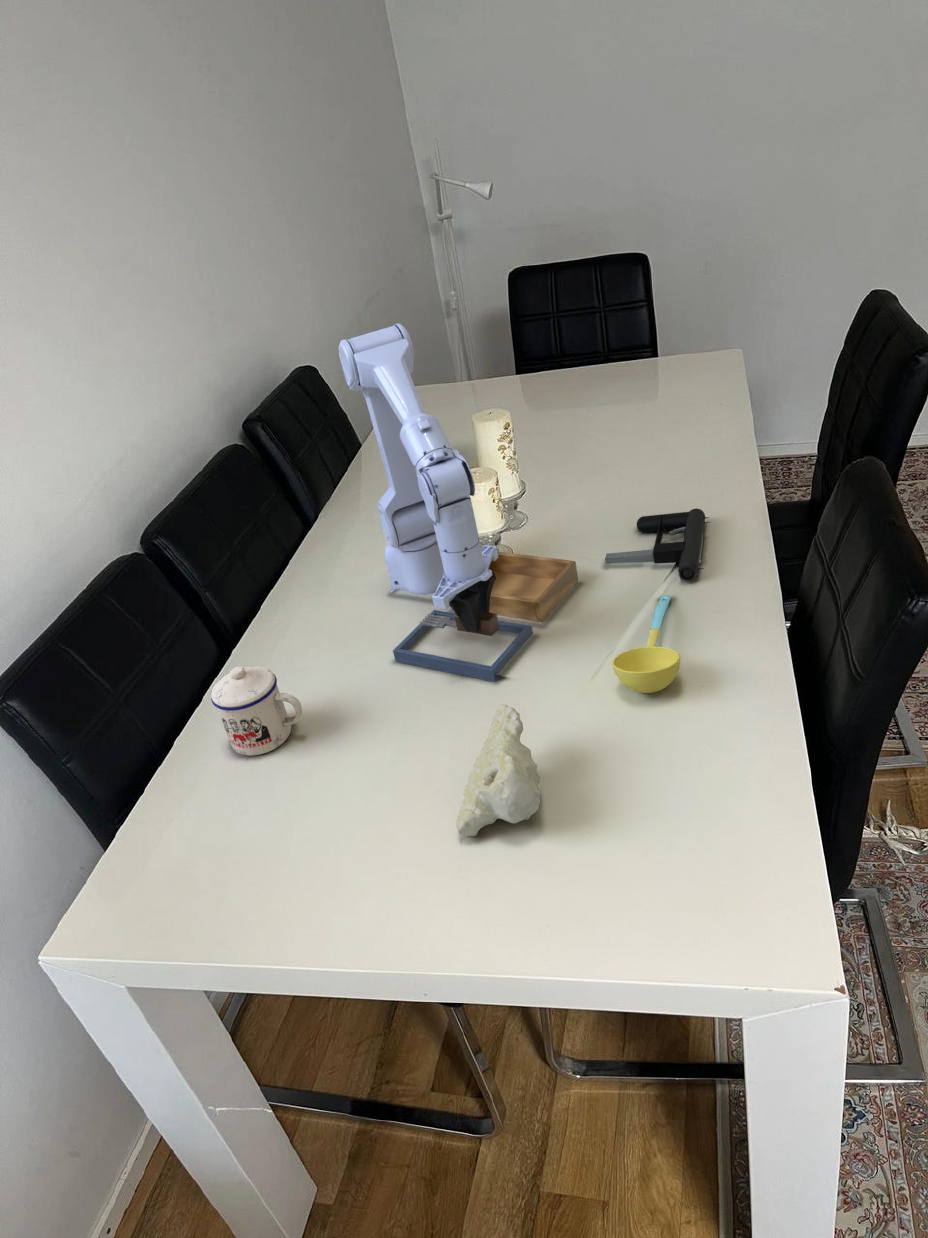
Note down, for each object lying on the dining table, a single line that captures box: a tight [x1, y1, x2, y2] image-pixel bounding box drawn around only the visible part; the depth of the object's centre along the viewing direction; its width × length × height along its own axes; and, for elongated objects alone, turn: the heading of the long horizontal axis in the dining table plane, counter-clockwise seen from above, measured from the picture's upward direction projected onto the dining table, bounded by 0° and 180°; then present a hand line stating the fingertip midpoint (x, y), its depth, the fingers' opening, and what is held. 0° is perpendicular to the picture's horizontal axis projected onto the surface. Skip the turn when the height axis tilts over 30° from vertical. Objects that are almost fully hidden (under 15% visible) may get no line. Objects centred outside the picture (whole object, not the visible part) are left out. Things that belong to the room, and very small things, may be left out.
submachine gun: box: [604, 507, 712, 582], centre depth 159 cm, size 3×20×16 cm
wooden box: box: [488, 551, 579, 624], centre depth 155 cm, size 17×13×4 cm
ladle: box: [612, 595, 681, 694], centre depth 137 cm, size 9×26×6 cm, turn 165°
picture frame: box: [392, 609, 534, 683], centre depth 146 cm, size 18×12×2 cm, turn 59°
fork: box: [419, 611, 499, 637], centre depth 144 cm, size 13×2×3 cm, turn 59°
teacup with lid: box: [210, 665, 303, 756], centre depth 134 cm, size 12×9×12 cm
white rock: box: [455, 703, 541, 838], centre depth 116 cm, size 15×7×15 cm
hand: (476, 624), depth 142 cm, fingers closed on fork, 2 cm apart
